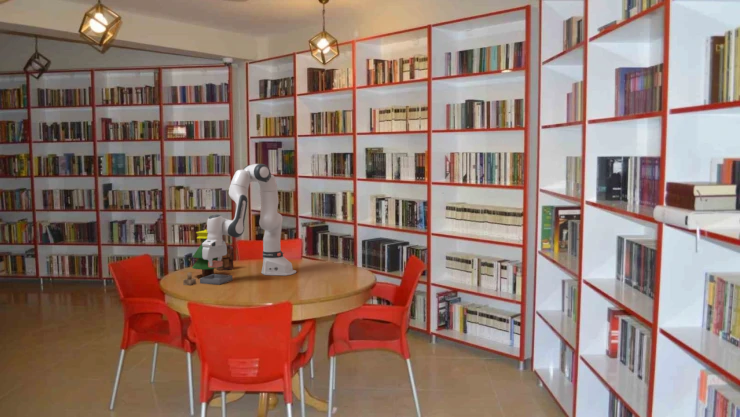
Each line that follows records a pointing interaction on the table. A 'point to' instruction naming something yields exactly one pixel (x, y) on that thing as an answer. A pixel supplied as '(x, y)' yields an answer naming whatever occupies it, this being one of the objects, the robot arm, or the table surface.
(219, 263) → the ring
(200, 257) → the decorative tree
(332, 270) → the table surface
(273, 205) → the robot arm
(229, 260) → the wooden figurine
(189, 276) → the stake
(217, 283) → the tray
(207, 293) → the table surface
